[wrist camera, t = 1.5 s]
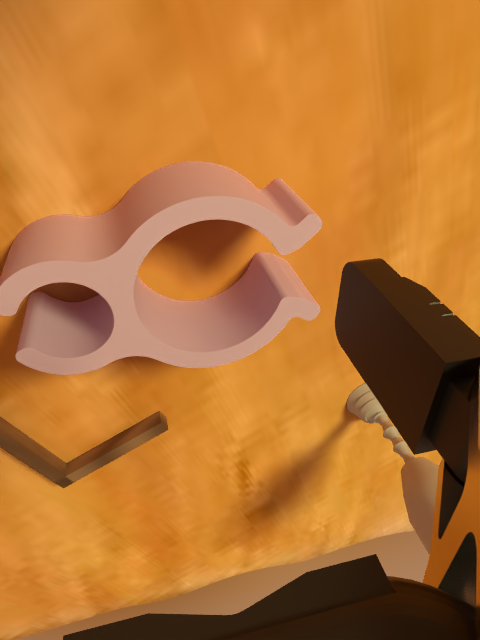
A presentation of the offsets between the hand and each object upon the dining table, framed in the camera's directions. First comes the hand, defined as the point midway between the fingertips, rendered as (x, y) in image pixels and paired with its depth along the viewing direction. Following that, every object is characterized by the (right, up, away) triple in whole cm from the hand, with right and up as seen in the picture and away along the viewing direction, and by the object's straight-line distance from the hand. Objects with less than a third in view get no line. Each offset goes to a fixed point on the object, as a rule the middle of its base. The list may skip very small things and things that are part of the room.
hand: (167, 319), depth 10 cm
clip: (-5, +5, +24) cm, 25 cm away
